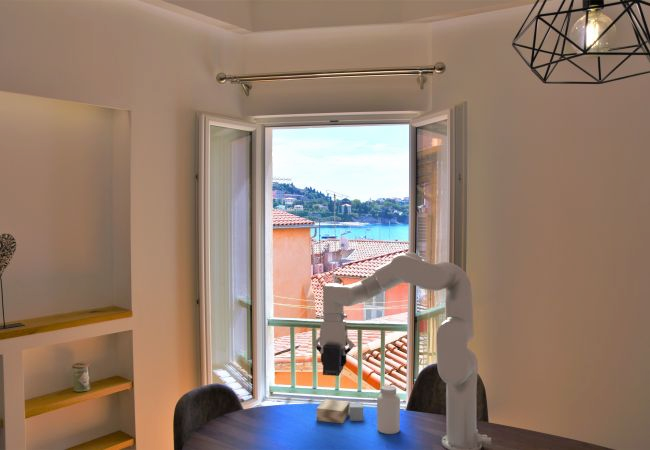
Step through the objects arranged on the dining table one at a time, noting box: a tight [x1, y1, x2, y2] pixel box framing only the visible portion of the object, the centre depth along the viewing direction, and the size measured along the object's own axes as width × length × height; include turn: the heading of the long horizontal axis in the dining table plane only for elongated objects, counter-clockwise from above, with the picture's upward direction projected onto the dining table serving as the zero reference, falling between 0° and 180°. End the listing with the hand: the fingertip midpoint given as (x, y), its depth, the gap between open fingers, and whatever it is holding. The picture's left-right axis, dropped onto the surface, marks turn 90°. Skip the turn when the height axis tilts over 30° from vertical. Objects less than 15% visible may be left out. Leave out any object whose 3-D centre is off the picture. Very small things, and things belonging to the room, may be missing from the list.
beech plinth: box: [316, 398, 350, 424], centre depth 192 cm, size 10×10×4 cm
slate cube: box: [349, 401, 364, 422], centre depth 191 cm, size 5×5×5 cm
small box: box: [322, 345, 344, 377], centre depth 191 cm, size 11×6×10 cm, turn 169°
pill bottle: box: [376, 384, 401, 435], centre depth 180 cm, size 8×8×15 cm
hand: (333, 364), depth 191 cm, fingers closed on small box, 6 cm apart
